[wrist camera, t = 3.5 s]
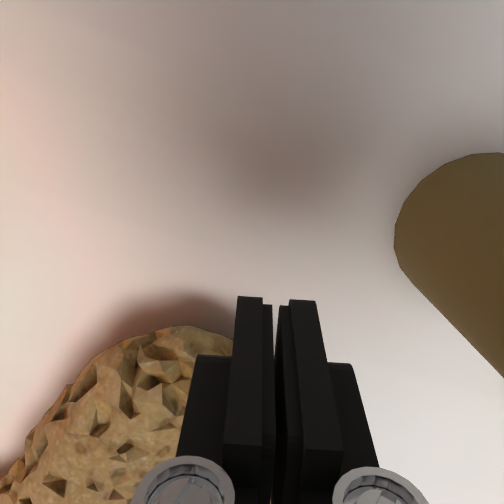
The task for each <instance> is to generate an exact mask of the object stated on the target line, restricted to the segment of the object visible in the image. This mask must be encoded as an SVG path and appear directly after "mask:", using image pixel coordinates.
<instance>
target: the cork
mask: <svg viewBox="0 0 504 504" xmlns="http://www.w3.org/2000/svg"><path fill="white" fill-rule="evenodd" d="M394 250H395V253H396V256H397V260H398V263H399V266H400V268H401V270H402V271H403V272H404V273H405V275H406V276H407V277H408V278H409V280H410V281H411V282H412V283H413V284H414V285H415V287H416V288H417V289H418V290H419V291H420V292H421V293H422V294H423V295H424V296H425V297H426V298H427V299H428V300H429V301H430V302H431V303H432V304H433V305H434V306H435V307H436V308H437V309H438V310H439V311H440V312H441V313H442V314H443V316H444V317H445V318H446V319H447V320H448V321H449V322H450V323H451V324H452V325H453V326H454V327H455V328H456V329H457V330H458V331H459V332H460V333H461V334H462V335H463V336H464V337H465V338H466V339H467V340H468V341H469V342H470V344H471V345H472V346H473V347H474V348H475V349H476V350H477V351H478V352H479V353H480V354H481V355H482V356H483V357H484V358H485V359H486V360H487V361H488V362H489V363H490V364H491V365H492V366H493V367H494V368H495V369H496V370H497V371H498V373H499V374H500V375H501V376H502V377H503V378H504V154H503V153H485V154H471V155H468V156H466V157H463V158H460V159H457V160H455V161H452V162H449V163H447V164H444V165H443V166H441V167H440V168H439V169H437V170H436V171H434V172H433V173H432V174H430V175H429V176H427V177H426V178H425V179H423V180H422V181H421V182H420V183H419V184H418V186H417V187H416V188H415V189H414V191H413V192H412V193H411V194H410V196H409V197H408V198H407V199H406V201H405V202H404V204H403V207H402V209H401V212H400V214H399V217H398V219H397V221H396V224H395V236H394Z"/></svg>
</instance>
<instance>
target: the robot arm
mask: <svg viewBox="0 0 504 504" xmlns="http://www.w3.org/2000/svg"><path fill="white" fill-rule="evenodd" d="M270 499H271V504H429V503H428V502H427V500H426V499H425V497H424V496H423V494H422V493H421V492H420V491H419V490H418V489H417V488H416V487H415V486H414V485H413V484H412V483H411V482H410V481H409V480H407V479H405V478H403V477H402V476H400V475H398V474H397V473H395V472H392V471H389V470H386V469H383V468H380V467H379V464H378V460H377V456H376V452H375V449H374V445H373V441H372V437H371V434H370V430H369V426H368V422H367V419H366V415H365V411H364V407H363V404H362V400H361V396H360V392H359V389H358V385H357V381H356V377H355V374H354V370H353V367H352V365H351V364H348V363H332V362H327V358H326V353H325V348H324V343H323V337H322V332H321V327H320V322H319V317H318V312H317V306H316V302H315V301H309V300H293V299H290V300H289V306H283V305H280V306H279V314H278V324H277V335H276V345H275V355H274V350H273V317H272V305H267V304H263V298H261V297H245V296H238V299H237V309H236V319H235V329H234V339H233V349H232V356H220V355H203V354H198V355H197V357H196V361H195V365H194V370H193V375H192V380H191V384H190V389H189V394H188V399H187V403H186V408H185V413H184V418H183V423H182V427H181V432H180V437H179V442H178V446H177V451H176V456H175V458H170V459H168V460H166V461H164V462H162V463H160V464H158V465H156V466H155V467H154V468H153V469H151V470H150V471H149V472H148V473H147V474H146V475H145V476H144V477H143V479H142V480H141V482H140V484H139V485H138V487H137V488H136V491H135V493H134V495H133V497H132V499H131V502H130V504H270Z"/></svg>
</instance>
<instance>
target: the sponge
mask: <svg viewBox="0 0 504 504" xmlns="http://www.w3.org/2000/svg"><path fill="white" fill-rule="evenodd" d="M232 349H233V340H231V339H229V338H227V337H225V336H222V335H219V334H215V333H212V332H208V331H205V330H203V329H200V328H197V327H195V326H176V327H169V328H165V329H161V330H157V331H154V332H152V333H151V334H149V335H139V336H135V337H132V338H128V339H125V340H123V341H121V342H119V343H117V344H116V345H114V346H112V347H110V348H108V349H107V350H105V351H103V352H102V353H100V354H98V355H97V356H95V357H93V358H92V359H91V360H90V362H89V363H88V364H87V365H86V366H85V368H84V369H83V370H82V371H81V372H80V374H79V376H78V377H77V379H76V381H75V382H74V384H73V385H68V384H67V385H66V387H65V388H64V390H63V391H62V393H61V395H60V396H59V398H58V399H57V401H56V402H55V404H54V405H53V406H52V407H51V408H50V409H49V410H48V411H47V413H46V414H45V415H44V416H43V418H42V420H41V421H40V423H39V424H38V425H37V426H36V427H35V428H34V429H33V430H32V431H31V432H30V433H29V435H28V436H27V438H26V442H25V455H24V456H23V457H21V458H20V459H19V458H18V459H17V461H16V462H15V464H14V465H13V466H12V467H11V468H10V469H9V473H8V474H7V475H6V476H4V477H3V478H2V479H1V480H0V504H130V502H131V499H132V497H133V495H134V493H135V491H136V488H137V487H138V485H139V484H140V482H141V480H142V479H143V477H144V476H145V475H146V474H147V473H148V472H149V471H150V470H151V469H153V468H154V467H155V466H156V465H158V464H160V463H162V462H164V461H166V460H168V459H170V458H175V456H176V451H177V446H178V442H179V437H180V432H181V427H182V423H183V418H184V413H185V408H186V403H187V399H188V394H189V389H190V384H191V380H192V375H193V370H194V365H195V361H196V357H197V355H198V354H203V355H220V356H232ZM270 504H271V499H270Z"/></svg>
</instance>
